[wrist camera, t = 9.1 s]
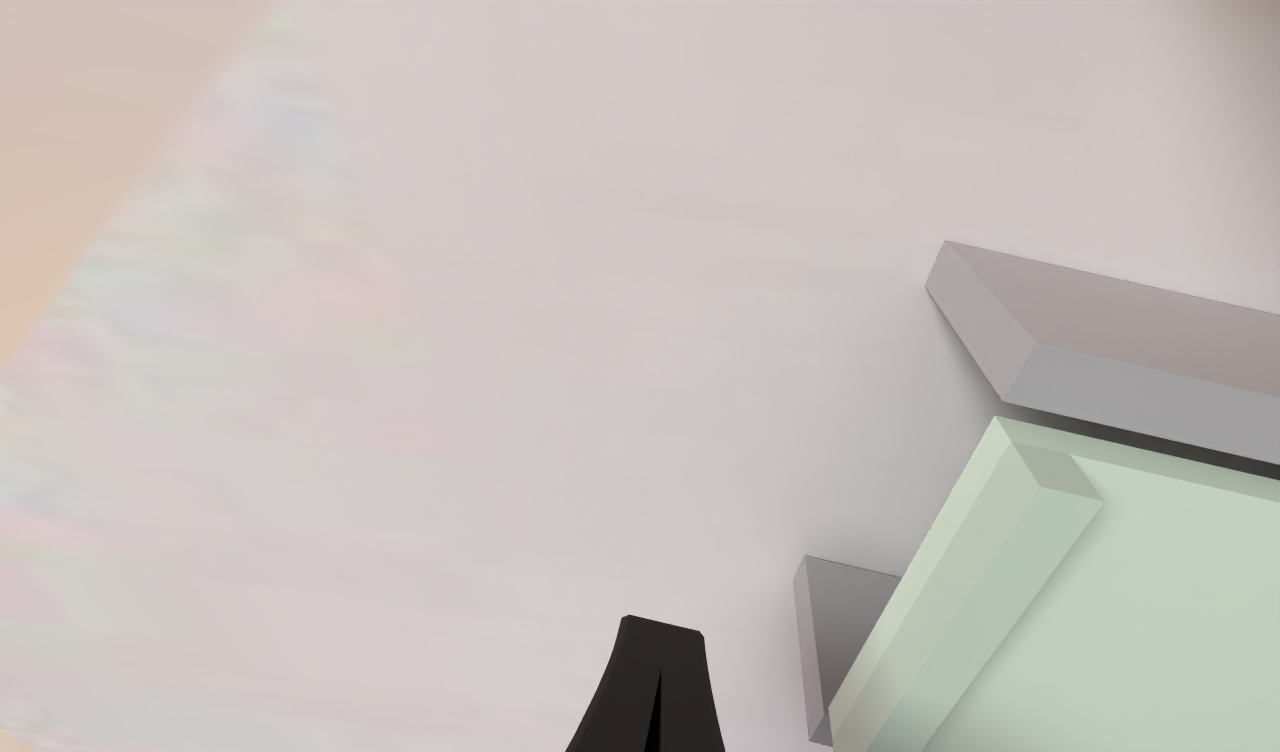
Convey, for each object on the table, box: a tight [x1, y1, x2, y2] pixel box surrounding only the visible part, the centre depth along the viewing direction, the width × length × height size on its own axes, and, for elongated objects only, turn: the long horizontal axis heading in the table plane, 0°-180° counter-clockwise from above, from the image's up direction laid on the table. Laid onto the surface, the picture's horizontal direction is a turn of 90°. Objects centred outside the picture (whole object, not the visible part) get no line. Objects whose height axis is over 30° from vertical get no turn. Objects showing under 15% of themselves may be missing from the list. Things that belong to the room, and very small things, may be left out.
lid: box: [828, 415, 1280, 752], centre depth 13 cm, size 9×12×2 cm
